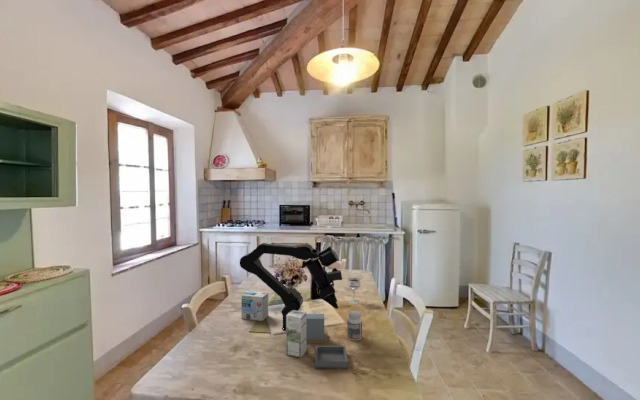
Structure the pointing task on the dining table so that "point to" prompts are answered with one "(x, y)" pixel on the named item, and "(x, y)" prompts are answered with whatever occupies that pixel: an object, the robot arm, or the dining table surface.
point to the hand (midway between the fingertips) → (336, 305)
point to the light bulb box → (254, 305)
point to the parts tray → (330, 357)
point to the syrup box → (296, 333)
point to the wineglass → (353, 287)
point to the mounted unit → (315, 329)
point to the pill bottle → (354, 326)
